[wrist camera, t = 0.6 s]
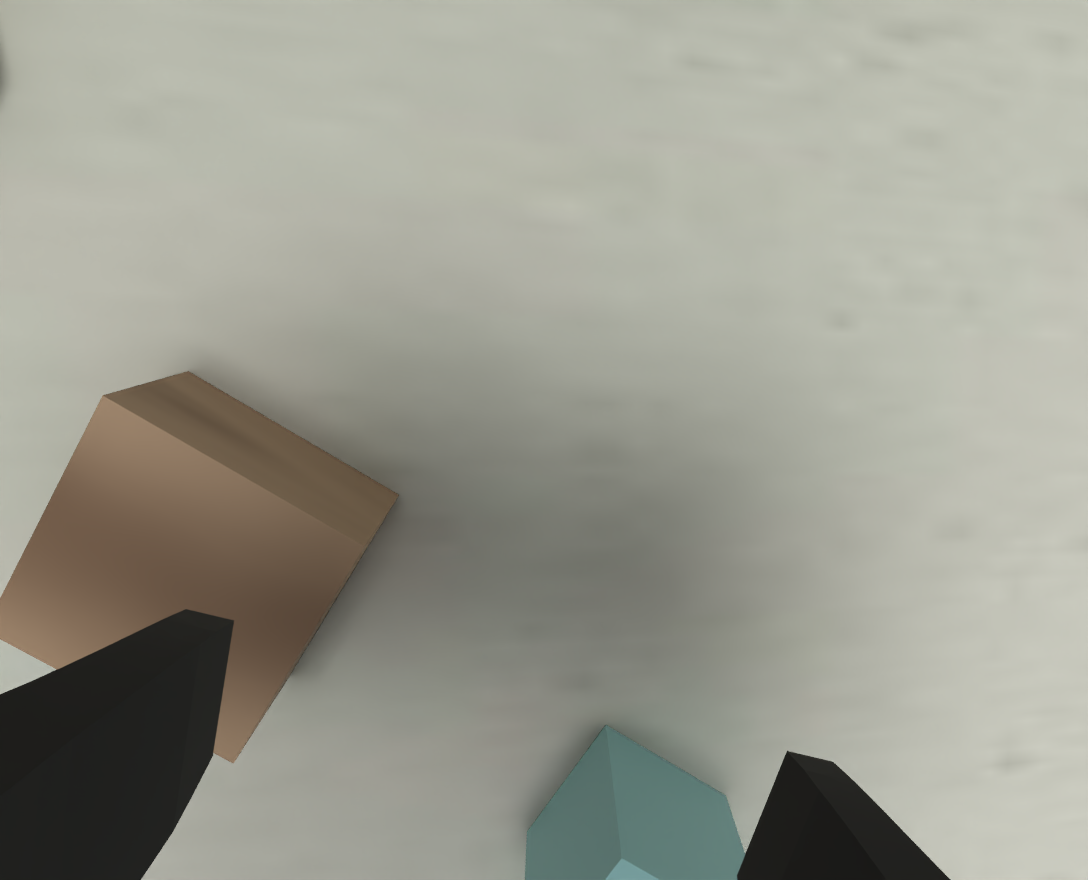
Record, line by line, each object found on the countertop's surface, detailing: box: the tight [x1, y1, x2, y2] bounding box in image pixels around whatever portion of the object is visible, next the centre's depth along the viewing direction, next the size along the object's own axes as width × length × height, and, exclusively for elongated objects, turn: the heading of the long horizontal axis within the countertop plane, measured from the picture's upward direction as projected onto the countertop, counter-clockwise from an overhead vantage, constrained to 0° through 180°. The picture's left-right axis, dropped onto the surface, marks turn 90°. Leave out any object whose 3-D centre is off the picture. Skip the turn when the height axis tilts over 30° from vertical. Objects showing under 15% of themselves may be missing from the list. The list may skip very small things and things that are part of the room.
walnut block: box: [0, 371, 399, 763], centre depth 19 cm, size 6×6×4 cm
